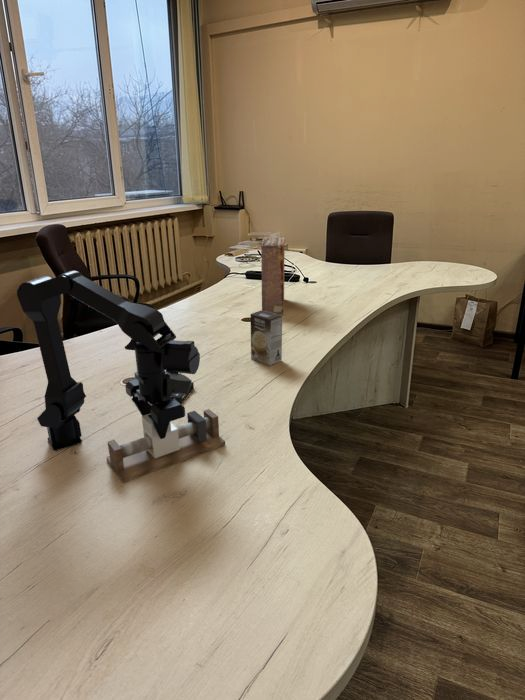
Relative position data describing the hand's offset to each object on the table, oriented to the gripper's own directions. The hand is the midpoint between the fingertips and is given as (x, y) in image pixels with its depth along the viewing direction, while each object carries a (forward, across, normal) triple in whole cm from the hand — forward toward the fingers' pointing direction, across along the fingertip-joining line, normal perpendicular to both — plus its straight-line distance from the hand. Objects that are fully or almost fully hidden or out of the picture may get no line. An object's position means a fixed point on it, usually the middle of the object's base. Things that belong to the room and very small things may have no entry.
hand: (157, 432), depth 109 cm
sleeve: (+5, 0, -1) cm, 5 cm away
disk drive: (+7, +29, -14) cm, 33 cm away
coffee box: (+6, +32, -53) cm, 62 cm away
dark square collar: (+4, 0, -10) cm, 11 cm away
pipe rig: (+6, 0, -2) cm, 6 cm away
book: (+6, +82, -93) cm, 124 cm away
